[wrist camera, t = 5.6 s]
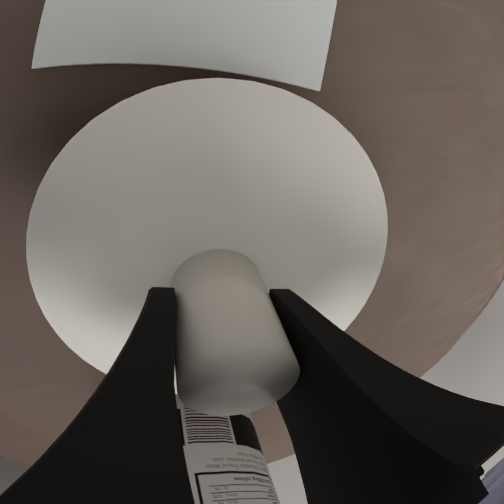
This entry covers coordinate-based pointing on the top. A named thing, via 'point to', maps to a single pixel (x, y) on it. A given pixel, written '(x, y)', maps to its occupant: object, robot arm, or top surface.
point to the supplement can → (224, 459)
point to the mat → (192, 36)
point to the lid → (207, 232)
